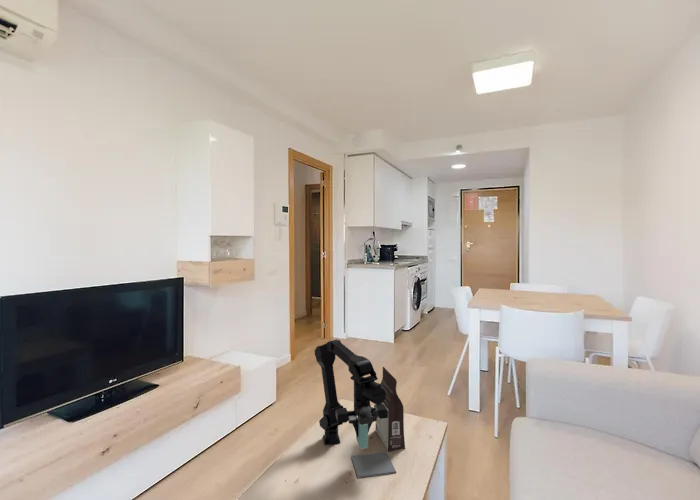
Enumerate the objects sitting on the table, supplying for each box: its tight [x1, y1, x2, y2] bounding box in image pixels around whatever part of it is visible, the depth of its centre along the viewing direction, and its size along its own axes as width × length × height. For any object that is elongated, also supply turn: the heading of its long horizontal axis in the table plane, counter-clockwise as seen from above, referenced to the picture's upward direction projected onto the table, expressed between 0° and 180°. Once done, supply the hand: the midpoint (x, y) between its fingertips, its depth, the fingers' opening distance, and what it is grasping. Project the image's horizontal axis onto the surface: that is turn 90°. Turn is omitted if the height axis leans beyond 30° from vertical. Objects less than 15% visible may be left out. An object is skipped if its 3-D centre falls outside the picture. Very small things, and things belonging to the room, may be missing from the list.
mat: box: [351, 450, 397, 479], centre depth 130 cm, size 12×14×1 cm
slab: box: [355, 416, 369, 450], centre depth 129 cm, size 7×3×9 cm, turn 10°
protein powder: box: [374, 366, 406, 452], centre depth 147 cm, size 16×9×28 cm, turn 14°
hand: (361, 435), depth 129 cm, fingers closed on slab, 3 cm apart
